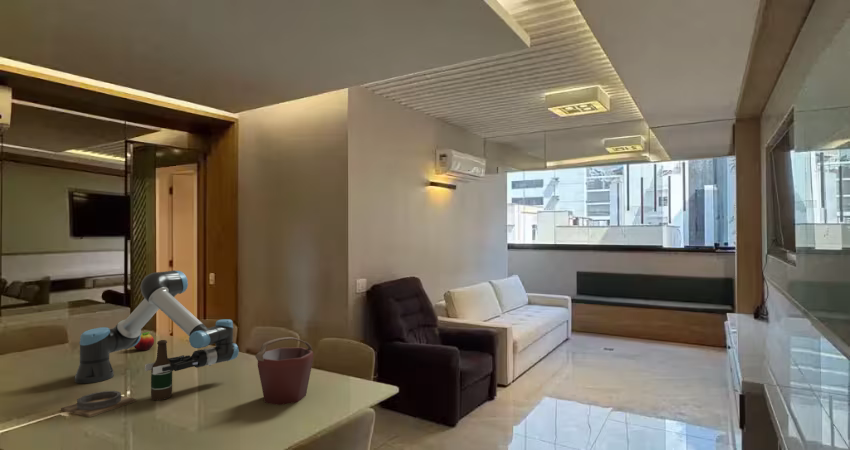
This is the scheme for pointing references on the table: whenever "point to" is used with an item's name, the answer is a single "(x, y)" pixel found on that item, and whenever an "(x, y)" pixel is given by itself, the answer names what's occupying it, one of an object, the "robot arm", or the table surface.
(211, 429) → the table surface
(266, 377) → the bucket
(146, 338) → the fruit
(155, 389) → the beer bottle
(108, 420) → the table surface
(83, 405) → the collar stand
